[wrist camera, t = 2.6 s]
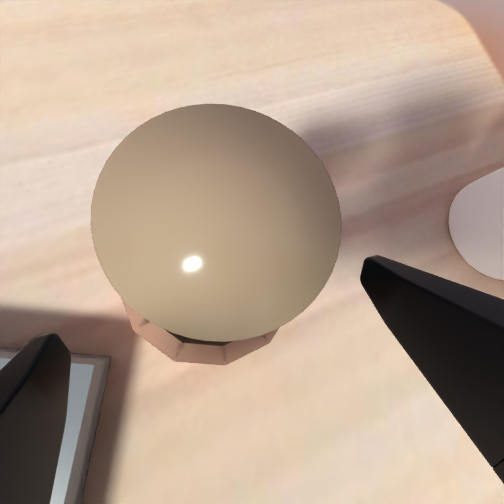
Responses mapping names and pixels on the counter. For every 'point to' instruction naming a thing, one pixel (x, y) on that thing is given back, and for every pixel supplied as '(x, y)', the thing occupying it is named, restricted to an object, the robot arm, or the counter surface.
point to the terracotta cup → (194, 343)
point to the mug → (480, 224)
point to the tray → (76, 422)
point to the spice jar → (216, 222)
